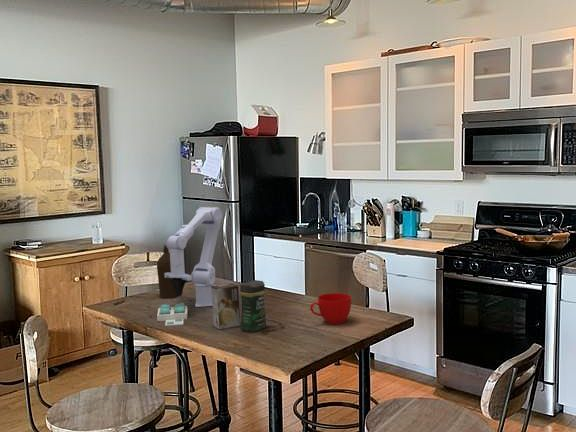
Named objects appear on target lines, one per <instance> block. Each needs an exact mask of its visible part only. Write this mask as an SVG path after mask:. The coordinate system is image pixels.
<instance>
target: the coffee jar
mask: <svg viewBox="0 0 576 432" xmlns="http://www.w3.org/2000/svg"><path fill="white" fill-rule="evenodd" d="M239 292H240V294H239V295H240V298H241V315H240V324H241V325H240V328H241V330H243V331H244V332H248V333H249V332H253V333H254V332H258V331H261V330H263V329H265V328H266V327H267V318H266V317H267V316H266V310H265V309H266V308H265V293H266V286H265V283H264V281H263V280H257V279H254V280H250V281H247V282H243V283H241V285H240V288H239Z"/></svg>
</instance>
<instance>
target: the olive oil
mask: <svg viewBox="0 0 576 432" xmlns="http://www.w3.org/2000/svg"><path fill="white" fill-rule="evenodd" d="M167 272H169V273H171V264H170V253H169V250H168V248H167V245H166V244H163V253H162V255H161V256H160V257H159V258H158V260H157V262H156V273H157V280H158V281H157V282H158V287H159V288H158V289H159V297H160V298H161V299H165V300H166V299H167V300H168V299H175V298H178V297H180V296H176V293H175V290H174V288H173V286H172V284H171V282H170V280H172V278H168V277H167V278H165V274H164V273H167Z"/></svg>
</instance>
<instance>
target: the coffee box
mask: <svg viewBox="0 0 576 432" xmlns="http://www.w3.org/2000/svg"><path fill="white" fill-rule="evenodd" d="M215 285H216V286H211V288H212V304H213V306H212V318H213V327H215V328H216V329H218V330H223V329H229V328H235V327H241V310H240V294H239V292H240V290H239V285H238V284H235V283H233V282H232V283H225V284H215Z"/></svg>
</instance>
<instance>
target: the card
mask: <svg viewBox="0 0 576 432" xmlns="http://www.w3.org/2000/svg"><path fill="white" fill-rule="evenodd" d="M181 325H183V326H184V319H175V320H166V321H165V325H164V326H165V327H169V326H181Z"/></svg>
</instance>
